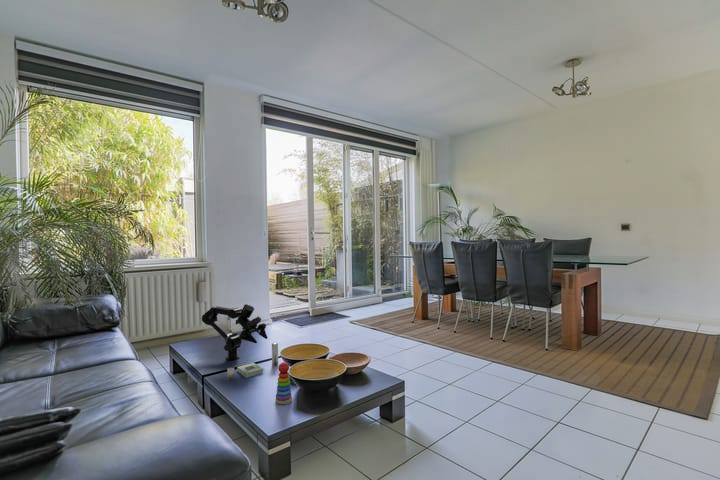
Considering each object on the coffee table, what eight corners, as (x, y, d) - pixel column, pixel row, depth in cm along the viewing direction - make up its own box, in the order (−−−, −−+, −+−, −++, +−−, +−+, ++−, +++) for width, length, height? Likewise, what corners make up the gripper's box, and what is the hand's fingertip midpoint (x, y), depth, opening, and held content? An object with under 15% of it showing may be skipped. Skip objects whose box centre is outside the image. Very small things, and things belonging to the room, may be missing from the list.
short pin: (226, 379, 202) (226, 368, 201) (232, 377, 204) (232, 366, 204) (229, 381, 199) (228, 370, 199) (235, 379, 201) (235, 368, 201)
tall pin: (271, 364, 222) (270, 343, 221) (276, 363, 224) (276, 342, 223) (273, 366, 219) (273, 345, 218) (279, 365, 221) (279, 343, 221)
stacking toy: (293, 403, 174) (293, 364, 173) (276, 406, 171) (276, 367, 170) (290, 396, 181) (290, 359, 180) (274, 399, 178) (273, 361, 177)
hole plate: (237, 371, 212) (237, 367, 212) (253, 366, 219) (253, 362, 219) (246, 377, 203) (246, 373, 203) (262, 372, 210) (262, 368, 210)
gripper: (240, 317, 216) (256, 335, 210) (261, 310, 232) (277, 326, 227) (232, 331, 219) (248, 349, 213) (254, 323, 236) (270, 340, 230)
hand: (261, 340), depth 221 cm, fingers open, 9 cm apart
